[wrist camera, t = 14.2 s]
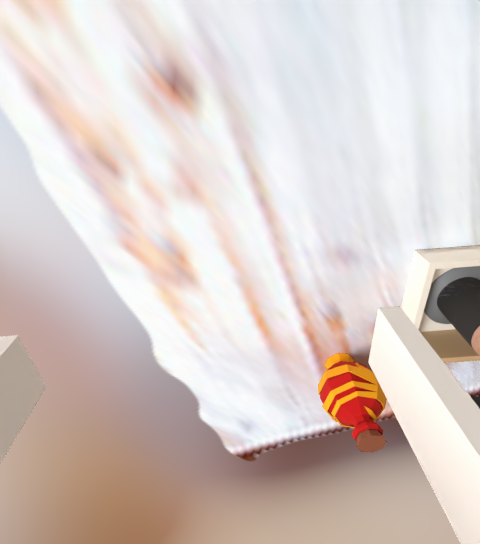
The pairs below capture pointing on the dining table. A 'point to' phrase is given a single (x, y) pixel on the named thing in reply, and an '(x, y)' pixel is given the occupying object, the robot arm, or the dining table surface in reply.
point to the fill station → (424, 292)
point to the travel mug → (463, 308)
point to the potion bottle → (353, 399)
